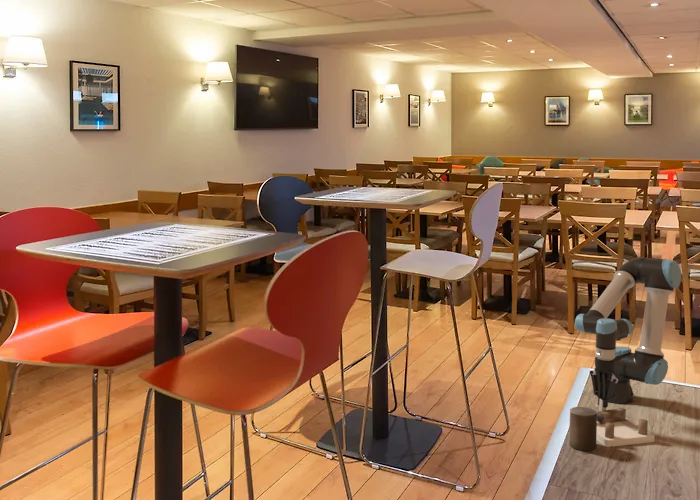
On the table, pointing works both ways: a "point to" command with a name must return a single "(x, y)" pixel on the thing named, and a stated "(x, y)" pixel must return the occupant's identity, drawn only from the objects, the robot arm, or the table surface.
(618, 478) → the table surface
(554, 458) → the table surface
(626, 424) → the stool seat
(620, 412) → the folding leg
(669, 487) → the table surface
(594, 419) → the pillar candle
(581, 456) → the table surface
